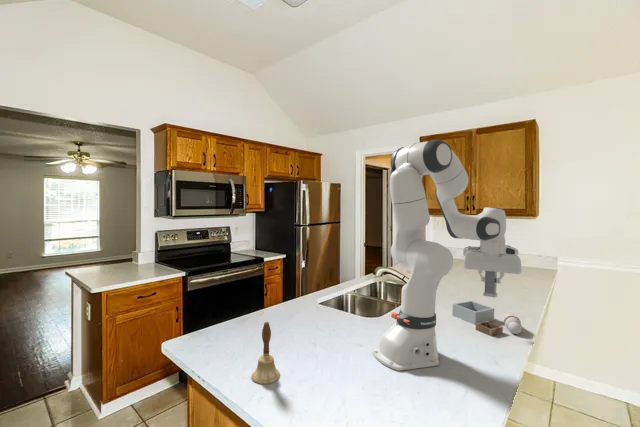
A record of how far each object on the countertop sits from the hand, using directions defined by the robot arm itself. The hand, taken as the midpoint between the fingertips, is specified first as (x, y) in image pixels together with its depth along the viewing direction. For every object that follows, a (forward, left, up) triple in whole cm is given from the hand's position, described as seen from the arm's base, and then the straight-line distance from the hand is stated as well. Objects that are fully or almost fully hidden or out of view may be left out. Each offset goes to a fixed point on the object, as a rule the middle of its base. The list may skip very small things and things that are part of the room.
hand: (490, 282), depth 126 cm
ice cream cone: (+11, -2, -20) cm, 23 cm away
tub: (+7, +13, -20) cm, 25 cm away
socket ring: (0, 0, -20) cm, 20 cm away
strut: (0, 0, -6) cm, 6 cm away
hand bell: (-91, +5, -20) cm, 93 cm away
